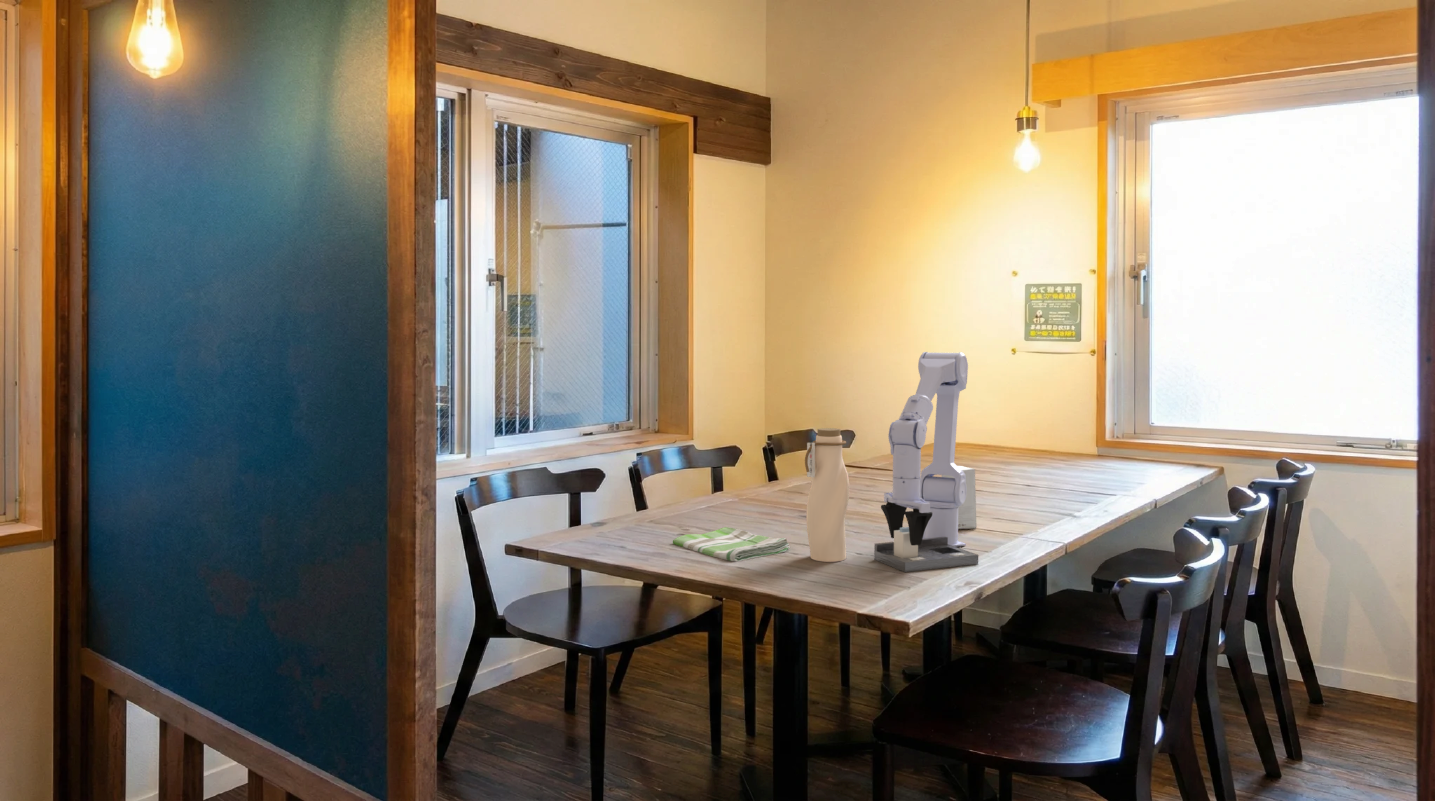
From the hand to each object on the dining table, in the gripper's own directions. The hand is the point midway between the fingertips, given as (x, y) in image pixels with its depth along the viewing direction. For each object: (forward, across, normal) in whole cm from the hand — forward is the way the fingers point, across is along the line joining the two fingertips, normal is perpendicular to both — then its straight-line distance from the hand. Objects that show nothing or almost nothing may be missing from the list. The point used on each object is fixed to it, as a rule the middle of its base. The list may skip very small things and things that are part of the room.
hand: (905, 541), depth 210 cm
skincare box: (+5, -29, +34) cm, 45 cm away
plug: (+5, 0, 0) cm, 5 cm away
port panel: (+5, 0, +5) cm, 7 cm away
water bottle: (+5, -11, -13) cm, 18 cm away
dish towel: (+6, -29, -28) cm, 41 cm away
